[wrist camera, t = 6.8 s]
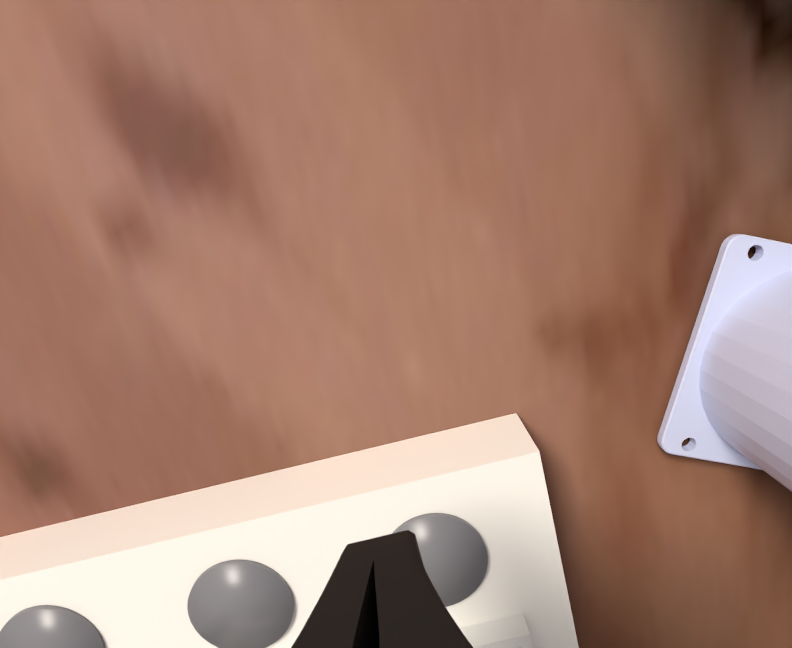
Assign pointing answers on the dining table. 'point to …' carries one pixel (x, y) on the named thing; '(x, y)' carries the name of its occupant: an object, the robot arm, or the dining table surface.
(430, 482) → the rocker switch panel
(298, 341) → the dining table surface
